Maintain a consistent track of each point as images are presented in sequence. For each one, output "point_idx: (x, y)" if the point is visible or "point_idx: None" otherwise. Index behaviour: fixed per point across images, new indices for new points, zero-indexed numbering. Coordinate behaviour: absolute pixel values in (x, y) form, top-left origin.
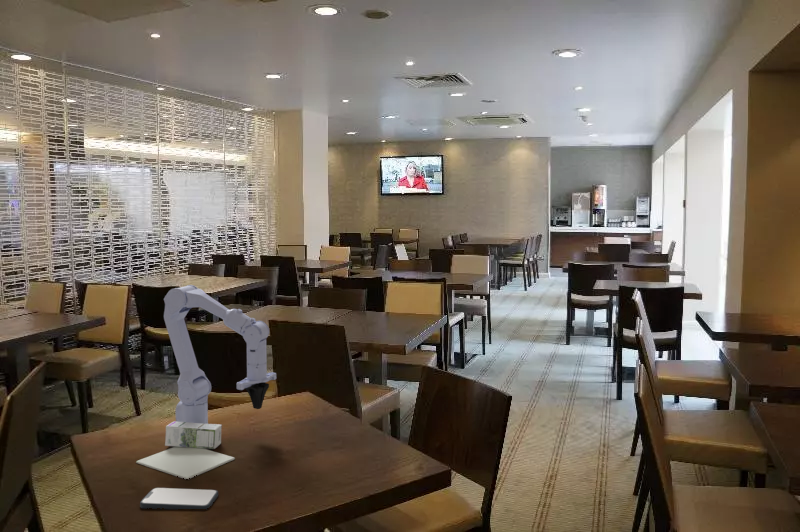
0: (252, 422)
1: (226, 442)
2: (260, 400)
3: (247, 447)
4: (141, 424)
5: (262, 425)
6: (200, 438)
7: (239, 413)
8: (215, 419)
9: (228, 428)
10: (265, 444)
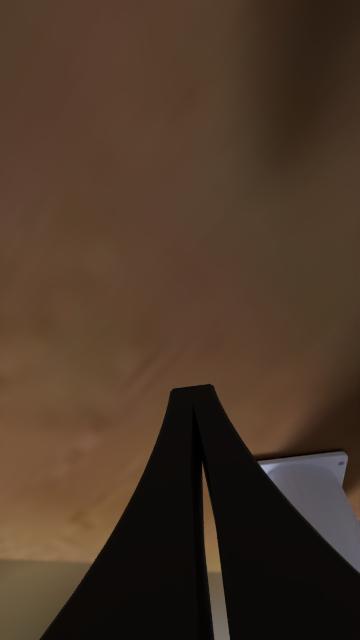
0: (91, 435)
1: (337, 328)
2: (206, 443)
3: (347, 191)
4: None
5: (78, 386)
6: None
7: (75, 517)
8: None
9: None
10: (253, 144)
